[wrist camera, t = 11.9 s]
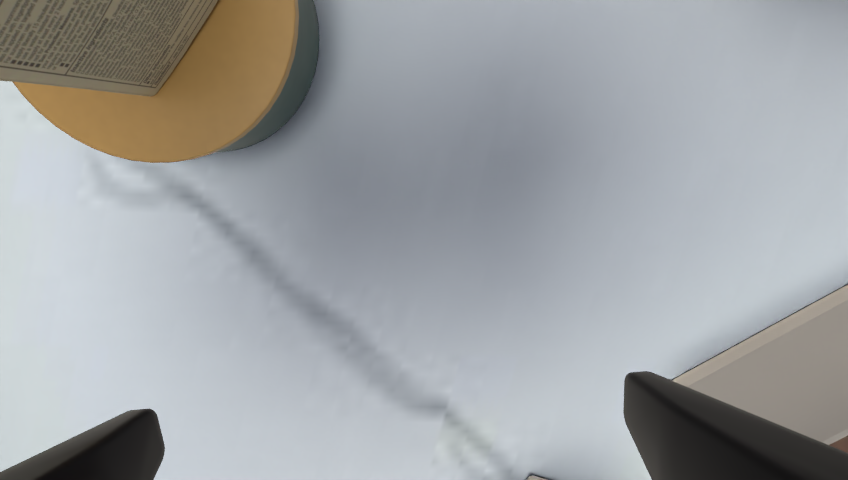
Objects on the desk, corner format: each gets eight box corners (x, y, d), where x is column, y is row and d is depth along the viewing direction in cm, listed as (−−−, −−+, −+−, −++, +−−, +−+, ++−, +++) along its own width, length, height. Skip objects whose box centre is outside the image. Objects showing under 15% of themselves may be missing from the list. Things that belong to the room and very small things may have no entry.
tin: (306, -119, 18) (268, -204, 13) (337, 147, 20) (315, 151, 16) (47, -98, 18) (-76, -174, 13) (110, 165, 20) (23, 173, 16)
